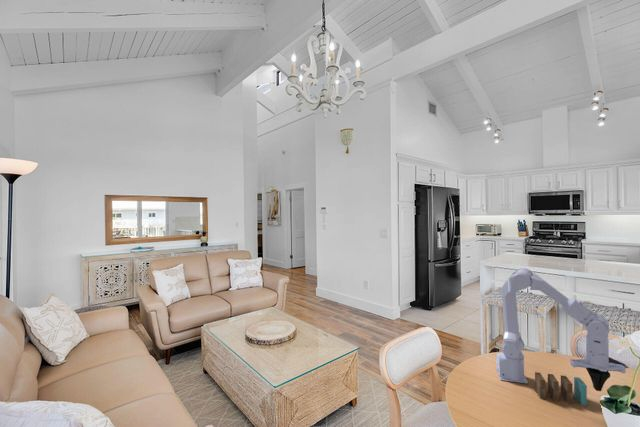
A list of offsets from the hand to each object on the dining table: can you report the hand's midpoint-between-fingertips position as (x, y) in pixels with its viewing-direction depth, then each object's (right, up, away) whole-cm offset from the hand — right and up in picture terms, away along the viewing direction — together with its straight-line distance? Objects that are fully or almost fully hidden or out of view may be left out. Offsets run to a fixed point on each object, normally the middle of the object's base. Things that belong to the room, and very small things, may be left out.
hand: (597, 389), depth 105 cm
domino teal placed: (-4, -5, +2) cm, 7 cm away
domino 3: (-8, -5, +3) cm, 10 cm away
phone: (+24, -4, +24) cm, 34 cm away
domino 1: (-16, -5, +6) cm, 18 cm away
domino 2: (-12, -5, +4) cm, 14 cm away
